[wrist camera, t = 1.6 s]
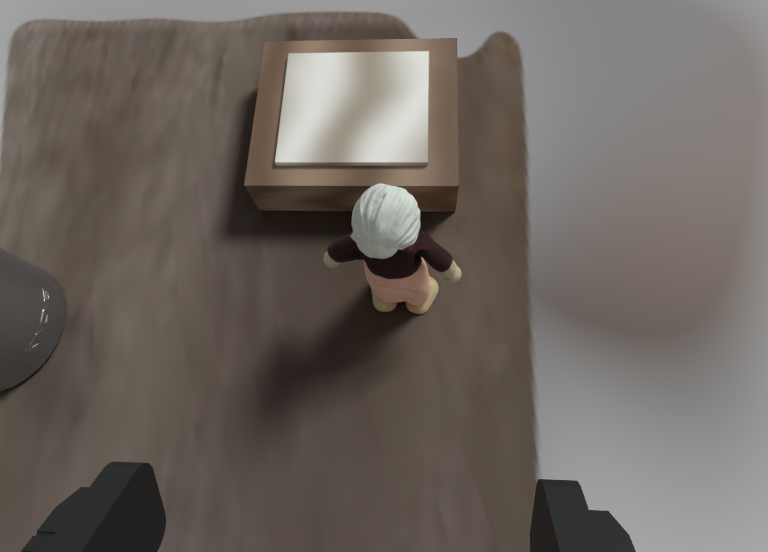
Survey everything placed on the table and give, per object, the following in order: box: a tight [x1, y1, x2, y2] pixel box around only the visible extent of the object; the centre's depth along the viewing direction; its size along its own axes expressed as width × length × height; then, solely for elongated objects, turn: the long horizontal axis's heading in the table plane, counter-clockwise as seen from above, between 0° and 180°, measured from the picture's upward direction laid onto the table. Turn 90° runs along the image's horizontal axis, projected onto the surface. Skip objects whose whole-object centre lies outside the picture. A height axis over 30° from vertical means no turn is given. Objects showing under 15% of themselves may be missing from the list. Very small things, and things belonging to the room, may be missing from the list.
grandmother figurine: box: [324, 183, 461, 314], centre depth 29 cm, size 8×4×13 cm, turn 93°
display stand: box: [244, 38, 459, 212], centre depth 37 cm, size 14×12×4 cm
